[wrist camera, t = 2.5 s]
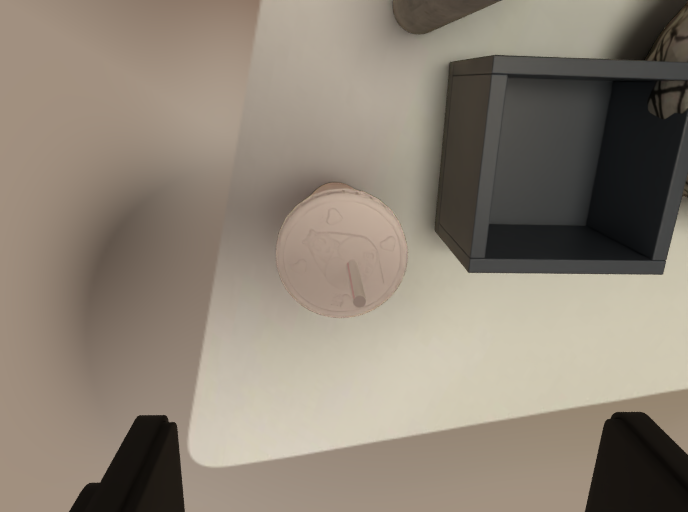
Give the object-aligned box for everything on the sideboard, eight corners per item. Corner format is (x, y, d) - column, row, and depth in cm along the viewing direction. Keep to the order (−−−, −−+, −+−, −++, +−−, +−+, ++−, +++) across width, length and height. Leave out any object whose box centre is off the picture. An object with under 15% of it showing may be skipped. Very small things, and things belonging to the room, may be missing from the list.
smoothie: (348, 273, 35) (368, 391, 21) (267, 224, 33) (235, 317, 20) (403, 196, 33) (460, 271, 20) (320, 141, 32) (323, 182, 18)
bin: (449, 61, 31) (493, 55, 23) (619, 67, 31) (716, 63, 24) (434, 230, 34) (468, 273, 26) (587, 233, 35) (663, 274, 27)
